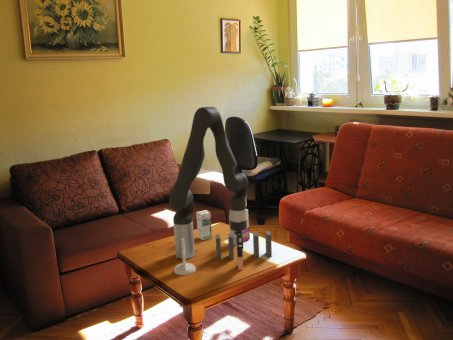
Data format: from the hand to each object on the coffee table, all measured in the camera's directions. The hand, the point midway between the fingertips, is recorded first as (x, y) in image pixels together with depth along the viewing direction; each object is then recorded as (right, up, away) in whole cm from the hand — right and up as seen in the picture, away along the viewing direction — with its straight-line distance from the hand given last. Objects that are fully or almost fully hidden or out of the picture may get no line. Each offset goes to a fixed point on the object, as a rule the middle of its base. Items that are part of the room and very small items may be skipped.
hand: (239, 254), depth 213 cm
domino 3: (0, -6, +2) cm, 6 cm away
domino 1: (-10, -4, +13) cm, 16 cm away
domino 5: (+14, -3, +14) cm, 20 cm away
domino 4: (+8, -3, +14) cm, 16 cm away
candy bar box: (+1, +1, +32) cm, 32 cm away
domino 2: (-4, -4, +13) cm, 14 cm away
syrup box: (-17, +2, +40) cm, 43 cm away
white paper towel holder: (-25, -8, +1) cm, 26 cm away
